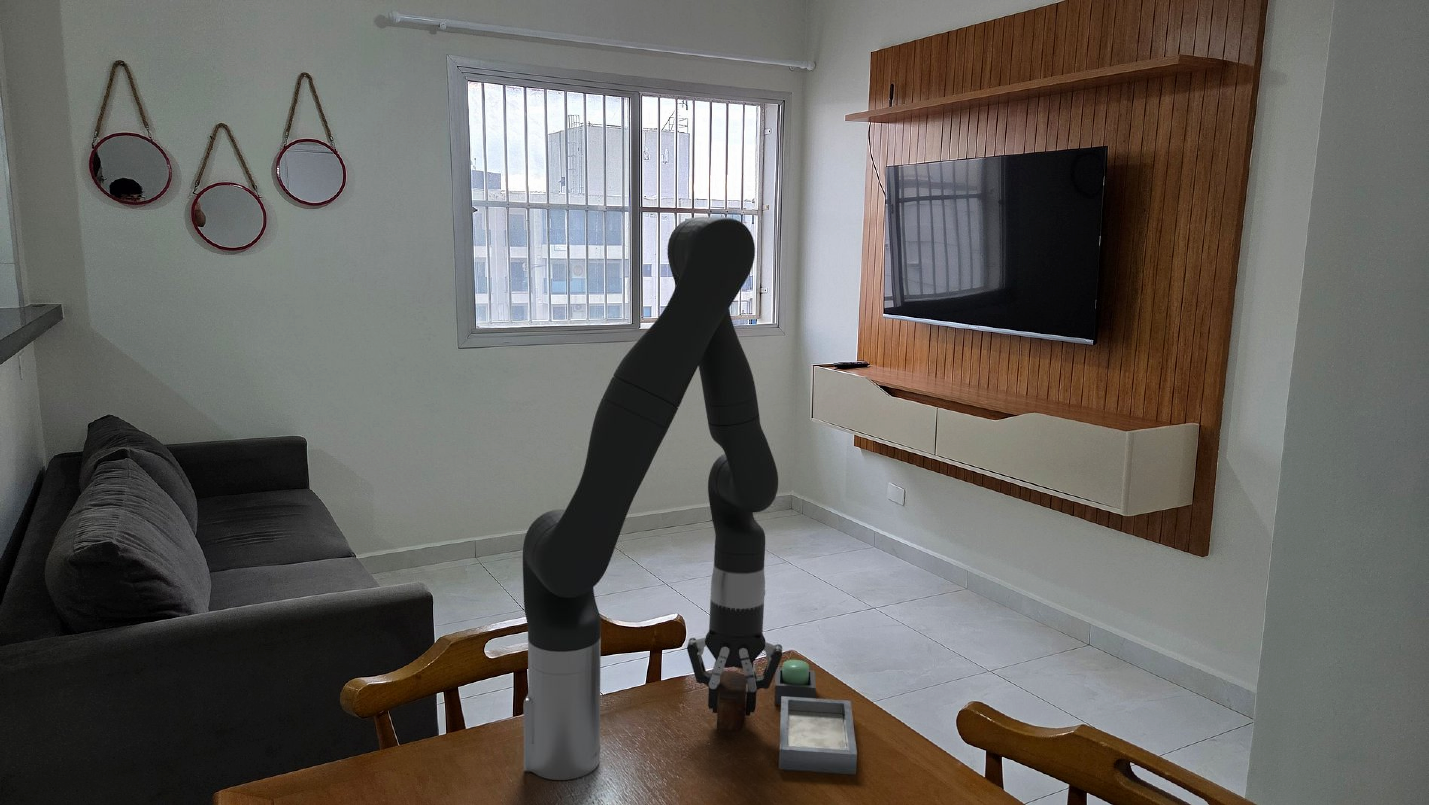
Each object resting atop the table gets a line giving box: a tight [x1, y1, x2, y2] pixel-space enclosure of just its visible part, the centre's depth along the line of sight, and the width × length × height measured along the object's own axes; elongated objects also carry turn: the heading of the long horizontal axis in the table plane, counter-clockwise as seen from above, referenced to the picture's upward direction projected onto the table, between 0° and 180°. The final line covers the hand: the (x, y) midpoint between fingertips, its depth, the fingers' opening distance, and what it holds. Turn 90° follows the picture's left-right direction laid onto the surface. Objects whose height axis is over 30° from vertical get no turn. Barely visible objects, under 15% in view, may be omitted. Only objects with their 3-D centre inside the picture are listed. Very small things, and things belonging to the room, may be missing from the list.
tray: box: [778, 696, 858, 776], centre depth 130 cm, size 10×15×3 cm, turn 175°
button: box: [782, 659, 810, 685], centre depth 143 cm, size 4×4×2 cm
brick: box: [716, 670, 747, 733], centre depth 134 cm, size 11×4×5 cm, turn 177°
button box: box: [774, 667, 817, 706], centre depth 144 cm, size 6×6×3 cm
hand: (731, 711), depth 134 cm, fingers closed on brick, 4 cm apart
